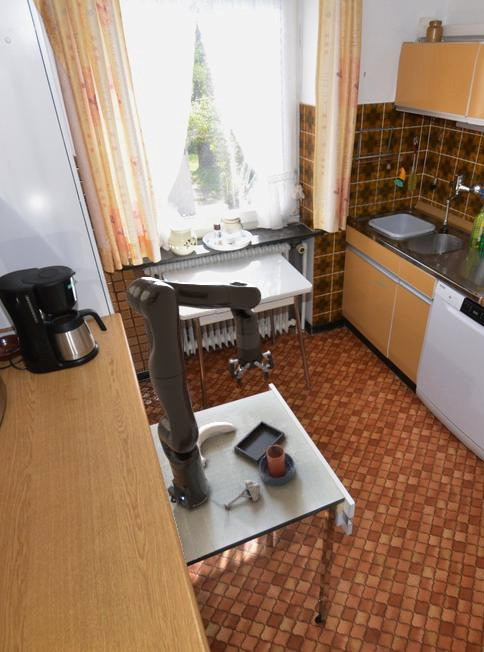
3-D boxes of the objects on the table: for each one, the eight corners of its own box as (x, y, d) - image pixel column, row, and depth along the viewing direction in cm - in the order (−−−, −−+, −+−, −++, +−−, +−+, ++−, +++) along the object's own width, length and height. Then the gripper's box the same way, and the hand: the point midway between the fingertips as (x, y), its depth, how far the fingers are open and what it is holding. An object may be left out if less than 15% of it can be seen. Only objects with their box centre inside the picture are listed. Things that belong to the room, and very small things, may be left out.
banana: (229, 421, 166) (247, 446, 155) (183, 444, 159) (197, 472, 148) (227, 412, 163) (245, 437, 152) (179, 435, 157) (194, 462, 146)
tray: (257, 465, 148) (257, 460, 146) (234, 451, 154) (233, 446, 152) (284, 437, 157) (284, 432, 156) (262, 425, 163) (261, 420, 162)
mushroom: (220, 493, 135) (253, 473, 138) (222, 499, 138) (255, 478, 142) (230, 513, 131) (265, 491, 134) (232, 518, 134) (266, 497, 138)
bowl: (280, 493, 138) (279, 485, 136) (253, 476, 144) (252, 468, 142) (301, 469, 145) (300, 461, 143) (274, 453, 151) (273, 445, 149)
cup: (278, 482, 141) (276, 461, 136) (264, 473, 144) (262, 453, 139) (289, 469, 145) (288, 450, 139) (275, 461, 148) (273, 442, 143)
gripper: (228, 353, 131) (234, 394, 140) (274, 343, 134) (277, 384, 143) (223, 340, 137) (229, 380, 146) (267, 330, 140) (270, 370, 149)
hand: (253, 382), depth 144 cm, fingers open, 8 cm apart
